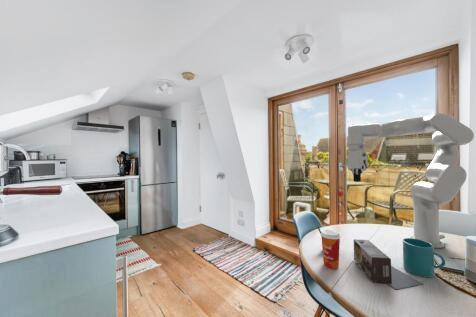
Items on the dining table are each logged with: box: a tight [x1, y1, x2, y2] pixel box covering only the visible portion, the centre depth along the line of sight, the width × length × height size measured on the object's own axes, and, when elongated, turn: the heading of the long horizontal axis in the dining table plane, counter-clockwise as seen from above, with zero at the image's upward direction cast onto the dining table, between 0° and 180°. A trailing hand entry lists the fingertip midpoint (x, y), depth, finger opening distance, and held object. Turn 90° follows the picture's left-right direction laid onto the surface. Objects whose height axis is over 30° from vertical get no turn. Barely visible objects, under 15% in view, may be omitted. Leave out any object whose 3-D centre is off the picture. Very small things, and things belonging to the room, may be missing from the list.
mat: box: [355, 262, 424, 290], centre depth 76 cm, size 12×17×1 cm
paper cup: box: [320, 229, 341, 270], centre depth 82 cm, size 8×8×14 cm
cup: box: [402, 237, 446, 278], centre depth 76 cm, size 9×12×11 cm
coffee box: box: [353, 238, 392, 284], centre depth 78 cm, size 9×6×16 cm
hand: (357, 181), depth 106 cm, fingers closed
